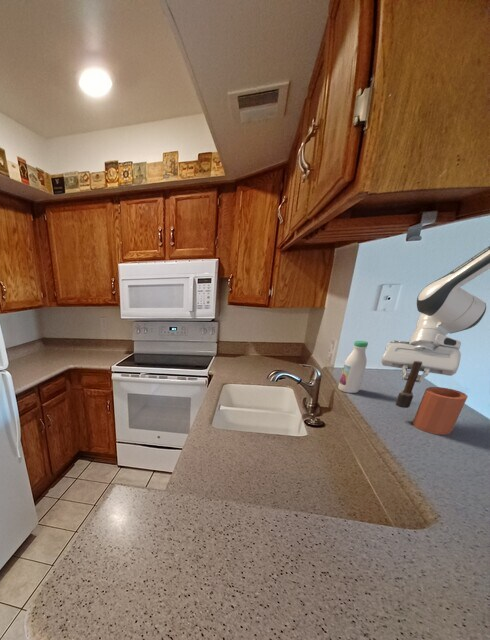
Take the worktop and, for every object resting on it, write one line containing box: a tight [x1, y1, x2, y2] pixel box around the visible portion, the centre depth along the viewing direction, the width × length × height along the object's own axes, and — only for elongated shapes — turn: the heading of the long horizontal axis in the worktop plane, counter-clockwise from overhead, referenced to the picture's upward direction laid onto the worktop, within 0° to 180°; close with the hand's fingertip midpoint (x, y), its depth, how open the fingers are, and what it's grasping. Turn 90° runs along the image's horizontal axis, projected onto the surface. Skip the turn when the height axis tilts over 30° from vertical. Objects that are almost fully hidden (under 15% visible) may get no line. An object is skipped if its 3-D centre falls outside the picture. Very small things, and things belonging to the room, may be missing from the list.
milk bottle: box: [337, 340, 369, 394], centre depth 132 cm, size 8×8×20 cm
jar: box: [412, 386, 468, 436], centre depth 104 cm, size 10×10×12 cm
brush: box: [395, 361, 422, 409], centre depth 106 cm, size 4×4×15 cm
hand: (411, 380), depth 105 cm, fingers closed on brush, 2 cm apart
